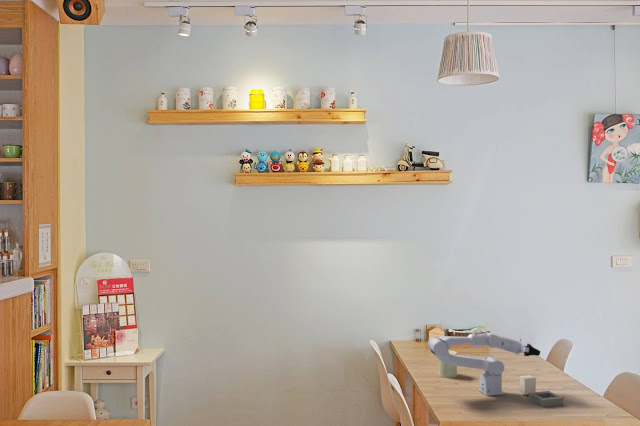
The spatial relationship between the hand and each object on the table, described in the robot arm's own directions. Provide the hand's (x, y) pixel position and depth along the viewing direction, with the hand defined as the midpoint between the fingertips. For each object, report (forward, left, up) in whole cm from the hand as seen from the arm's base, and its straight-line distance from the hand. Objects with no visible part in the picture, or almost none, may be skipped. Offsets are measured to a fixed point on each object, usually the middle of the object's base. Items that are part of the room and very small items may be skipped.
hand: (535, 352), depth 275 cm
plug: (-7, -5, -18) cm, 20 cm away
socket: (-5, -15, -18) cm, 24 cm away
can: (-28, +32, -18) cm, 46 cm away
